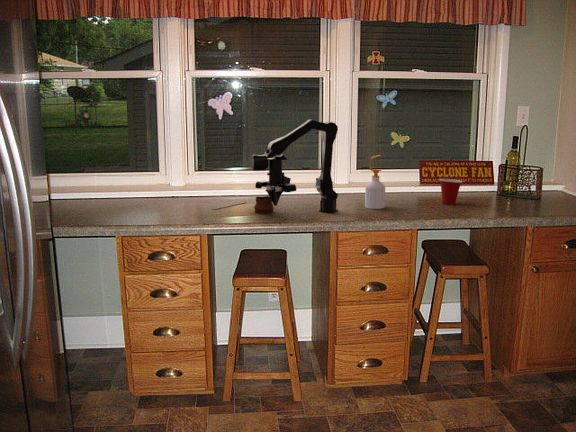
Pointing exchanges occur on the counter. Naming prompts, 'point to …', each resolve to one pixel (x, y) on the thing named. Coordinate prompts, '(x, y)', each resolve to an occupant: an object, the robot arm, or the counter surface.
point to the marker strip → (229, 205)
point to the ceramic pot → (263, 205)
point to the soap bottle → (375, 191)
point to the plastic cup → (449, 190)
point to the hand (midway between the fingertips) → (275, 205)
